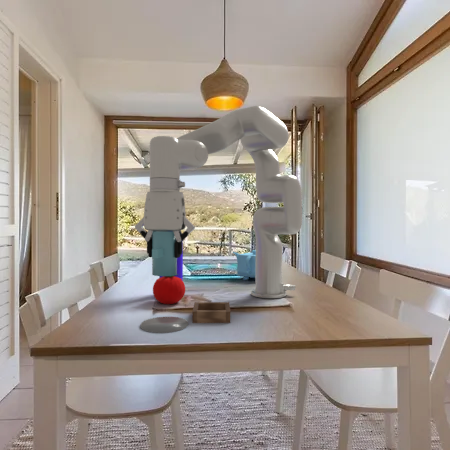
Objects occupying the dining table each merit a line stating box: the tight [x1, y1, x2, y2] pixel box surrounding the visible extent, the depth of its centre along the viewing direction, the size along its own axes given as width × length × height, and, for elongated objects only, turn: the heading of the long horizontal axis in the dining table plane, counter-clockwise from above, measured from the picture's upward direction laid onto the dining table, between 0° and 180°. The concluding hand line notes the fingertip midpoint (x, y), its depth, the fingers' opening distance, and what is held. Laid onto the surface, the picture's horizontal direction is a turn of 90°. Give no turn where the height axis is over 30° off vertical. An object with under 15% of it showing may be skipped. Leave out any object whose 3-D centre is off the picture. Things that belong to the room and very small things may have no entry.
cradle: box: [191, 301, 231, 324], centre depth 102 cm, size 10×10×4 cm
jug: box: [151, 231, 177, 277], centre depth 92 cm, size 10×6×11 cm, turn 171°
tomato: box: [152, 274, 186, 305], centre depth 118 cm, size 10×10×10 cm
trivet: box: [140, 316, 189, 334], centre depth 94 cm, size 12×12×1 cm
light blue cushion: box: [232, 249, 256, 281], centre depth 165 cm, size 18×16×13 cm
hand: (164, 256), depth 94 cm, fingers closed on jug, 6 cm apart
